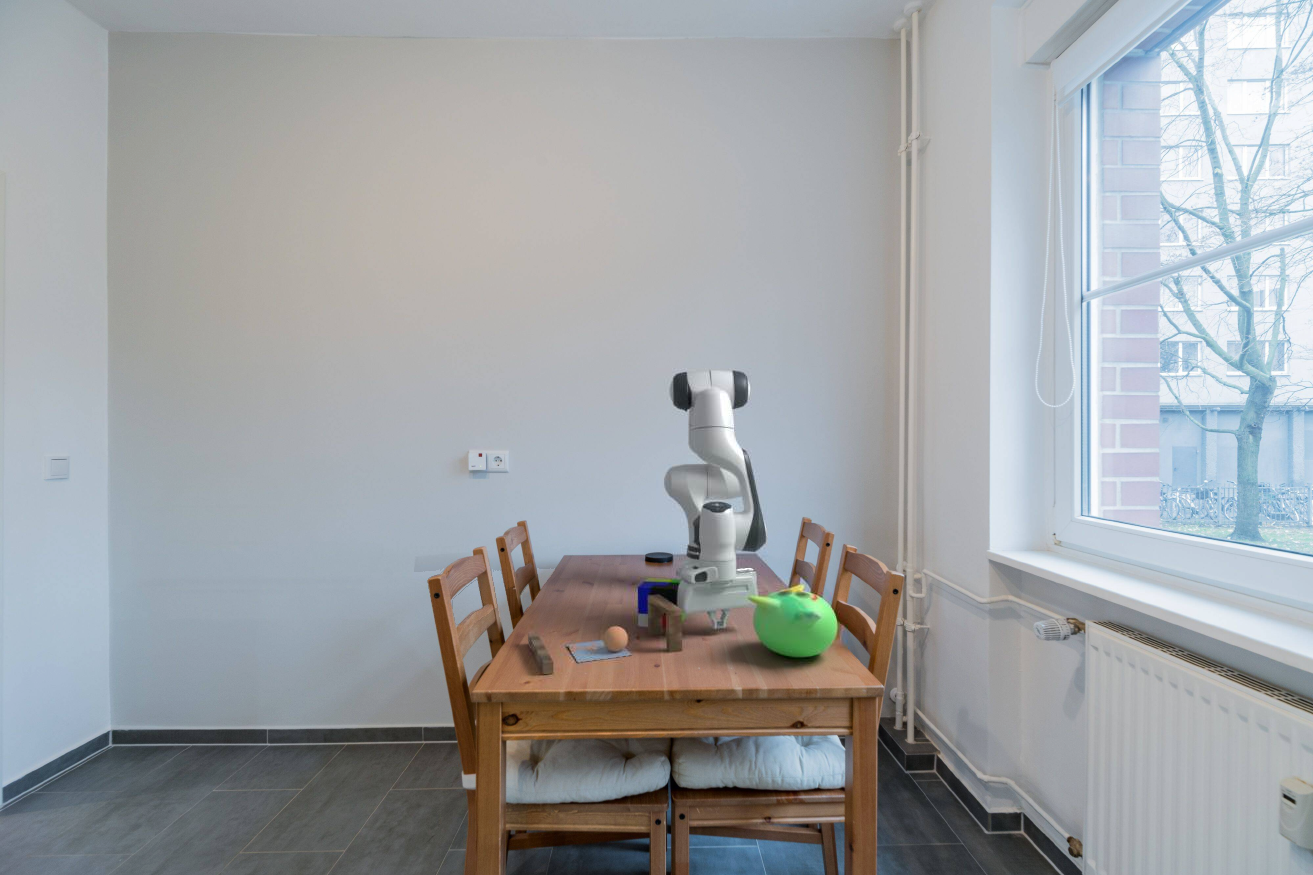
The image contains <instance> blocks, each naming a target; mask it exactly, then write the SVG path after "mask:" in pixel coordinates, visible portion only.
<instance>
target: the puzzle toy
mask: <svg viewBox="0 0 1313 875" xmlns="http://www.w3.org/2000/svg"><path fill="white" fill-rule="evenodd" d="M681 581H682V580H675V578H674V579H671V578H668V579H667V578H646V579H645V580H644V581H643V582H642V583H640V585H638V586H637V627H639V626H641V627H642V628H643V627H644V628H648V596H649V595H661V596H662V597H664V598H665V599H667V600H668V601H670V602H671V603H673V604H674V605H676V606H677V595H678V587H679V584H680V582H681ZM685 616H686V614H684V613H682V622H683V621H684V619H685ZM662 626H663V629H666V614H665V613H664V612H663V611H662Z"/></svg>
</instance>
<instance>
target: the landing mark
mask: <svg viewBox="0 0 1313 875" xmlns="http://www.w3.org/2000/svg"><path fill="white" fill-rule="evenodd" d="M566 645H567V646H568V645H569V646H576V647H577V646H579V647H580V648H579V647H577V648H579V650H577V651H576V650H574V651H576V652H574V651H573V650H571V651H573V653H572V652H570V654H571V653H572V654H573V655H572V654H571V655H572V657H573V656H574V657H575V658H574V657H573V658H574V660H575V659H576V660H575V661H576V662H578V663H577V664H581V663H580V662H583V663H587V662H586V661H590V662H594V661H593V660H597V661H602V660H601V659H604V660H609V659H608V658H611V659H616V657H619V658H624V657H623V656H626V657H630V656H629V655H632V654H631V652H630V651H629V650H628V649H627V648H626V647H625V648H624V649H623V650H621V651H619V652H612V651H610V650H608V649H607V648H606V647H605V645H604V642H603V639H602V640H595V641H594V640H593V641H586V642H579V643H570V644H566ZM567 646H566V647H567ZM583 646H587V647H588V646H597V647H598V646H600V647H598V648H599V649H598V648H597V649H596V650H595V649H592V648H590V649H592V650H590V649H589V650H588V648H587V649H586V648H584V647H583ZM582 647H583V648H582ZM601 647H602V648H601ZM577 648H576V649H577ZM581 648H582V649H581ZM593 650H595V651H593ZM578 651H579V652H578ZM587 651H588V652H587ZM590 651H591V652H590ZM589 652H590V653H589ZM592 652H593V653H592ZM574 653H575V654H574ZM586 653H587V654H586ZM592 654H593V655H592ZM589 655H590V656H589Z"/></svg>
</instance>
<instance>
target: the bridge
mask: <svg viewBox="0 0 1313 875" xmlns="http://www.w3.org/2000/svg"><path fill="white" fill-rule="evenodd" d="M662 611H663V612H664V613H665V614H666V628H665V630H666V635H665V637H666V638H665V639H666V643H665V644H666V650H667V652H669V653H675V652H682V651H683V621H682V609H680V608H679V607H677V606H676V605H674V604H673V603H671V602H670V601H668V600H667V599H665V598H664V597H662V596H661V595H649V596H648V627H647V634H648V635H649V636H650V637H651V636H653V637H654V636H660V635H663V632H664V631H663V629H664V628H663V626H662Z"/></svg>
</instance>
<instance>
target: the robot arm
mask: <svg viewBox="0 0 1313 875" xmlns="http://www.w3.org/2000/svg"><path fill="white" fill-rule="evenodd" d="M748 379H749V378H748V376H747V375H746V374H745V372H742V371H740V370H739V371H738V370H732V371H731V370H730V371H729V370H723V369H722V370H719V369H709V370H697V371H691V372H690V371H689V372H687V371H683V372H678V373H676V374H675V375H674V376H673V377H672V380H671V383H670V384H669V396H670V397H669V398H670V399H671V401H672V405H673V406H674V407H675V408H677V409H679V410H682V411H684V412H687V413H688V435H687V436H688V443H687V444H688V446H689V449H690V450H691V451H692V452H693V453H694V454H695V455H696V456H697V457H698V458H699V459H701V461H704V462H705V463H684V464H680V465H675V466H671V467H670V468H669V469H667V471H666V473H665V476H664V480H663V486H664V489H665V491H666V493H667V495H668V496H669V497H670V498H671V499H673V500H674V501H675V502H677V504H678V505H679V506H680V507H681V508H682V510H683V512H684V514H685V516H686V521H687V528H688V529H687V530H688V544H687V545H686V546H687V548H686V555H685V556H686V557H685V558H684V559H683V561H681V562H680V564H679V565H678V568H676V569H675V576H676V577H678V578H676V579H675V578H674V579H675V580H682V581H681V582H680V584H679V587H678V595H677V607H679V608H680V609H682V613H684V614H685V615H689V614H697V613H698V614H699V613H706V614H707V616H708V617H709V619H710V621H711V628H712V629H714V630H717V629H725V628H726V626H727V620H728V617H729V616H730V614H731V609H740V608H749V607H755V606H757V604H755V603H753V602H752V601H750V600H749V599H748V597H749V596H759V592H758V586H757V580H758V575H757V572H756V570H755V569H753V568H752V567H744V568H743V567H739V568H737V555H736V552H735V551H741V552H748V553H749V552H751V553H756V552H758V551H759V550H760V549H761V548H762V547H763V546H764V545H765V544H767V538H768V536H767V535H768V530H767V525H766V522H765V519H764V517H763V513H762V509H761V503H760V500H759V495H758V490H757V484H756V480H755V475H754V471H753V467H752V463H751V459H750V457H749V456H750V455H749V454H748V452H747V450H745V449H744V448H742V447H741V446H740V445H739V443H738V441H737V438H736V434H735V420H734V411H733V410H735V409H740V408H742V407H743V408H744V406H745V405H746V404H747V403H748V400H749V398H750V394H751V384H750V382H749V380H748ZM737 498H741V499H742V504H743V511H738V512H734V508H733V506H732V505H731V504H730V503H729V502H728V503H727V502H724V501H712V500H731V499H733V500H734V499H737ZM707 500H708V501H709V500H711V501H710V502H707V503H704V502H705V501H707ZM717 611H720V612H722V614H721V616H720V618H716V617H715V615H716V614H717Z"/></svg>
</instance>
